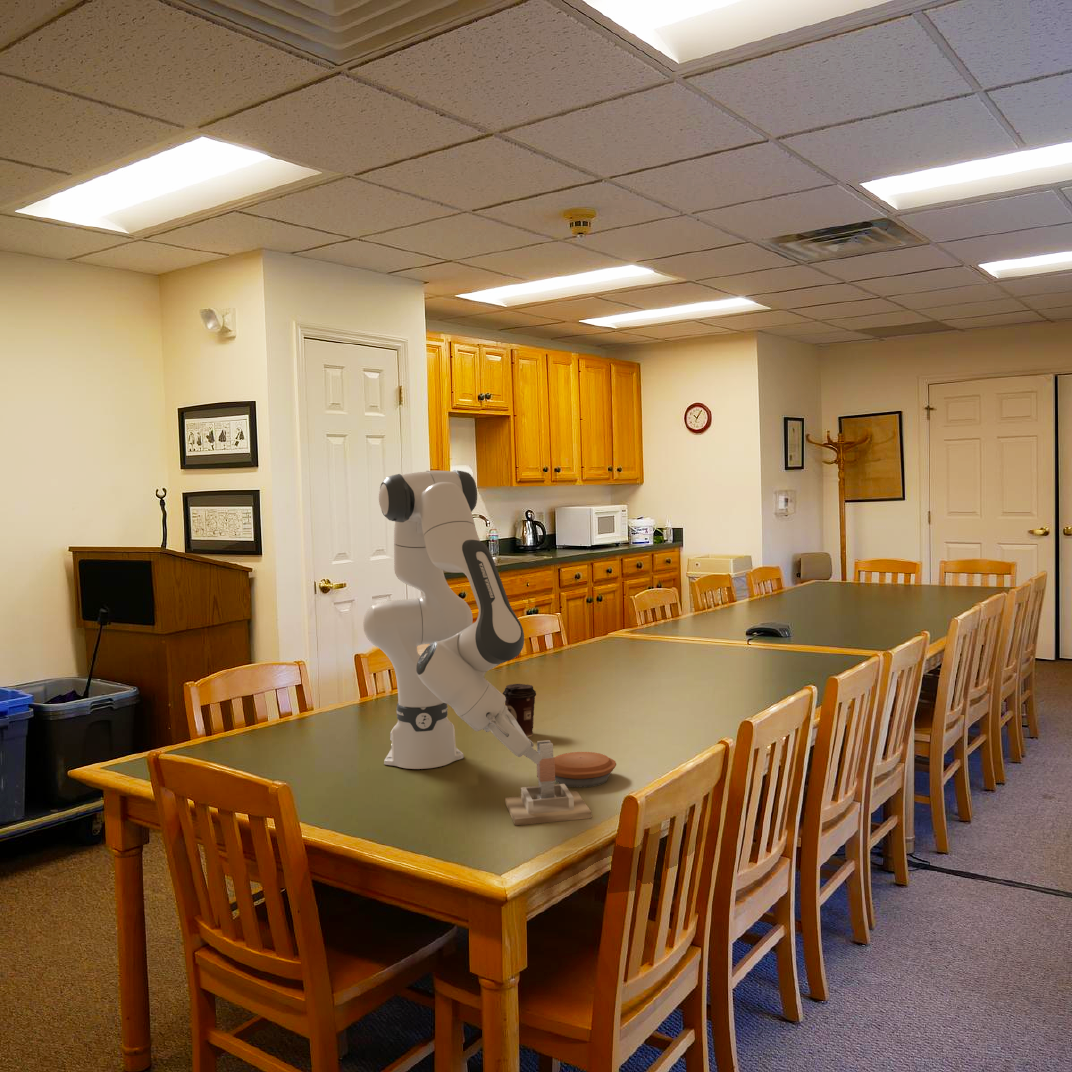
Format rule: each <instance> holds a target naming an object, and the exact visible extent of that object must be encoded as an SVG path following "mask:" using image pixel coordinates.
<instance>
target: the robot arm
mask: <svg viewBox="0 0 1072 1072" xmlns="http://www.w3.org/2000/svg"><path fill="white" fill-rule="evenodd" d="M379 486H380V487H379V491H378V492H379V493H378V503H379V504H378V505H379V507H380V510H381V513H382V514H383V516H384V517H385V518H386V519H387V520H388V521H391V522H394V526H393V527H394V529H393V563H394V565H393V568H394V569H393V570H394V574H395V576H396V577H397V579H398V580H400V582H401V583H404V584H405V585H407V586H410V587H412V588H414V589H416V590H418V591H420V597H417V598H407V599H393V600H386V601H382V602H378V603H374V604H372V605H370V607H369V608H368V609H367V611H366V613H365V614H364V617H363V624H362V625H363V626H362V627H363V632H364V635H365V636H366V638H367V640H369V642H370V643H371V644H372V645H374V646H375V647H377V648H378V649H380V651H382V652H383V653H384V654H385V655H386V657H387V658H388V659H389V661H390V662H391V664H392V667H393V670H394V672H395V678H396V687H397V699H398V701H397V704H396V710H395V711H396V719H397V722H396V724H395V725H394V726H393V728H392V729H391V731H390V734H389V738H390V741H391V744H390V750H389V752H388V754H387V755H386V756H385V758H384V761H383V762H384V763H383V764H384V765H386V766H394V767H397V768H398V767H399V768H403V769H407V770H408V769H412V770H420V769H421V770H423V769H433V768H438V767H442V766H443V767H444V766H447V765H449V764H451V763H453V762H455V761H458V760H462V759H464V753H463V752H462V751H461V750H460V749H458V747H457V745H456V731H455V725H454V724H453V722H452V721H450V720H449V718H448V714H449V713H448V710H449V708H448V706H449V707H451V709H453V711H454V713H455V714H456V716H458V717H459V718H460V719H461V720H462V721H463V722H465V723H466V724H467V726H469V727H470V728H471V729H472V730H473V731H475V732H480V731H481V730H482V731H483V730H484V731H485V733H488V732H491V734H492V735H493V736H494V737H495V738H496V739H497V740H498V741H499V742H501V744H503V745H504V746H505V747H506V748H507V749H508V750H509V751H510V752H511V753H512V754H513V755H514V756H517V757H518V758H522V756H525V757H526V758H527V759H529V760H531V761H532V762H533V763H534V764H535V765H537V764H538V763H539V762H540V761H541V760H542V756H541V755H540V754H539V753H538V752H537V750H536V749H534V742H533V741H532V740H531V739H530V738H529V737H527V736H526V735H525V733H524V732H523V730H522V729H521V727H520V726H519V724H518V722H517V721H516V719H515V718H514V717H513V715H512V714H511V713H510V712H509V711H508V710H507V709H508V708H507V706H505V700H506V697H505V695H503V692H501V691H499V690H498V689H497V688H496V687H495V686H494V685H493V684H492V683H491V682H490V681H489V680H488V679H486V678H485V675H486V673H487V672H488V671H490V670H493V669H494V668H496V667H497V666H499V665H501V664H504V663H506V662H509V661H512V660H513V659H515V658H517V657H518V656H519V655H520V654H521V652H522V650H523V648H524V644H525V632H524V628H523V626H522V623H521V622H520V620H519V618H518V616H517V615H516V613H515V612H514V609H513V607H512V606H511V604H510V601H509V598H508V595H507V593H506V590H505V588H504V585H503V582H502V579H501V576H500V573H499V571H498V568H497V565H496V563H495V559H494V558H493V555H492V553H491V552H490V549H489V548H488V546H487V545H486V544H485V543H484V542H482V541H481V540H480V538H479V535H478V532H477V531H478V530H477V527H476V524H475V521H474V520H475V519H474V517H473V514H472V513H473V511H474V510H475V509H476V506H477V503H478V488H477V483H476V480H475V479H474V477H473V476H472V475H471V474H470V472H466V471H463V470H456V469H454V470H452V471H450V470H426V471H418V472H410V473H405V474H400V473H398V474H392V475H390V476H387V477H385V478H384V479H383V481H382V482H381V484H380V485H379ZM444 572H445V573H452V574H453V573H455V574H456V573H459V574H460V573H463V574H464V575H465V576H466V577H467V580H468V582H469V585H470V588H471V591H472V593H473V594H472V595H473V596H474V600H475V602H476V606H477V608H478V615H477V618H476V621H474V620H473V612H472V609H471V607H470V606H469V604H468V602H466V601H465V600H464V599H463V598H461V597H460V596H458V595H457V594H456V592H454V591H453V590H452V588H451V587H450V585H449V584H448V582H447V579H446V577H445V573H444ZM473 621H474V622H473ZM421 645H427V646H426V648H425V649H424V651H422V653H421V655H420V654H419V653H418V646H421Z"/></svg>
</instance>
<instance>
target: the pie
mask: <svg viewBox="0 0 1072 1072" xmlns="http://www.w3.org/2000/svg"><path fill="white" fill-rule="evenodd" d="M553 757H554V758H555V782H556V783H557V784H565V785H566V787H567V788H568V787H569V788H591V787H597V786H600V785H603V784H604V783H606V782H607V781H608V779H609V777H610V775H611V773H612V772H613V771H614V770H615V768H616V766H617V762H616V760H614V759H612V758H611V757H608V756H607V755H605V754H604V753H599V752H593V751H591V752H590V751H573V752H567V753H562V754H558V755H556V756H553Z"/></svg>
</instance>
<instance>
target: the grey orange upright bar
mask: <svg viewBox="0 0 1072 1072" xmlns="http://www.w3.org/2000/svg"><path fill="white" fill-rule="evenodd" d="M536 745H537V746H536V748H537V750H536V751H537V752H538V753H539V754H540V755H541V756H542V760H541V761H540V762H539V763H538V764H536V777H537V779H538V781H537V782H538V786H539V794H537V795H535V796H536V799H543V798H554V797H556V795H555V793H554V784H555V782H556V780H555V758H554V757H555V756H554V743H553V742H552V741H551V740H550V739H546V740H537V741H536Z"/></svg>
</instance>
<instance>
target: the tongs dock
mask: <svg viewBox="0 0 1072 1072" xmlns="http://www.w3.org/2000/svg"><path fill="white" fill-rule="evenodd" d="M554 793H555V795H556V797H554V798H543V799H536V796H535V795H537V794H539V785H535V786H534V785H533V786H523V787H522V786H521V787H520V796H511V797H505V798H504V799H505V802H504V803H505V806H506V809H507V810H508V813H509V814H510V817H511V820H512V822H513V824H514V826H521V825H522V826H525V825H533V824H544V823H555V822H564V821H565V822H566V821H574V820H585V819H592V811H591V809H590V808H589V806H588V805H587V804H586V802H585V800H584V799H583V798H582V796H581V794H579V792H578V791H570V790H569V788H568V786H566V785H565V784H559V783H556V784H555V783H554Z"/></svg>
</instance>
